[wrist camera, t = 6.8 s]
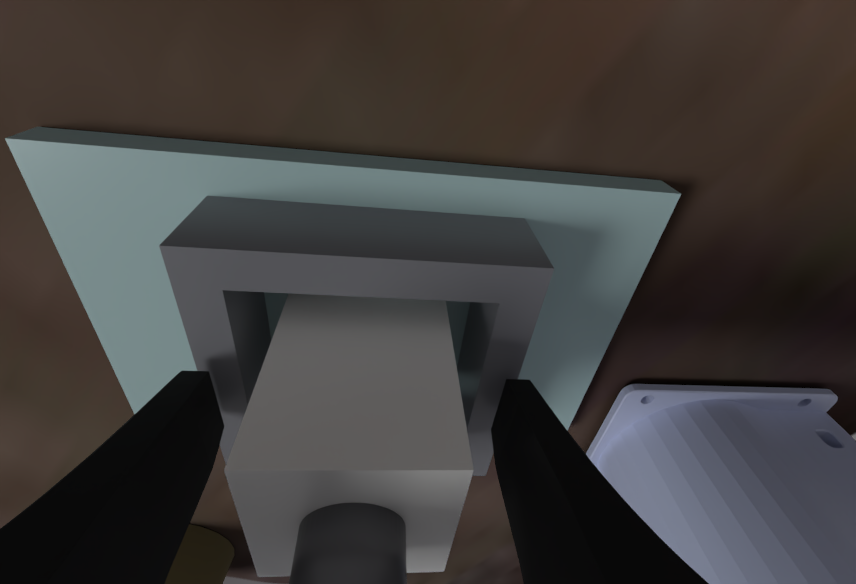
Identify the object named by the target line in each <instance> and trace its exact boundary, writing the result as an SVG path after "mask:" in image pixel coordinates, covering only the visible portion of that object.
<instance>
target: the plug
mask: <svg viewBox="0 0 856 584" xmlns="http://www.w3.org/2000/svg"><path fill="white" fill-rule="evenodd" d="M473 471H474V469H473V463H472V457H471V451H470V445H469V439H468V433H467V427H466V421H465V415H464V409H463V403H462V397H461V391H460V384H459V378H458V372H457V366H456V360H455V354H454V348H453V342H452V336H451V330H450V324H449V318H448V312H447V306H446V301H438V300H417V299H396V298H375V297H354V296H333V295H311V294H290V293H289V294H288V296H287V299H286V302H285V305H284V307H283V310H282V313H281V316H280V318H279V321H278V324H277V327H276V329H275V332H274V335H273V338H272V340H271V343H270V346H269V349H268V351H267V354H266V357H265V360H264V362H263V365H262V368H261V371H260V373H259V376H258V379H257V382H256V384H255V387H254V390H253V392H252V395H251V398H250V401H249V403H248V406H247V409H246V412H245V414H244V417H243V420H242V423H241V425H240V428H239V431H238V434H237V436H236V439H235V442H234V445H233V447H232V450H231V453H230V456H229V458H228V461H227V464H226V467H225V469H224V472H225V475H226V478H227V481H228V484H229V488H230V491H231V494H232V497H233V500H234V503H235V506H236V510H237V513H238V516H239V519H240V522H241V525H242V528H243V532H244V535H245V538H246V541H247V544H248V547H249V550H250V553H251V557H252V560H253V563H254V566H255V569H256V572H257V575H258V577H275V576H290V580H289V584H407V573H414V572H444V570H445V566H446V563H447V559H448V556H449V553H450V549H451V546H452V542H453V539H454V536H455V532H456V529H457V525H458V522H459V519H460V515H461V512H462V508H463V505H464V502H465V498H466V495H467V491H468V488H469V485H470V481H471V478H472V474H473Z"/></svg>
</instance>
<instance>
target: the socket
mask: <svg viewBox="0 0 856 584" xmlns="http://www.w3.org/2000/svg"><path fill="white" fill-rule="evenodd" d="M5 139H6V141H7V144H8V146H9V148H10V150H11V152H12V154H13V156H14V158H15V161H16V163H17V165H18V167H19V169H20V171H21V173H22V175H23V178H24V180H25V182H26V184H27V186H28V188H29V190H30V193H31V195H32V197H33V199H34V201H35V203H36V205H37V207H38V210H39V212H40V214H41V216H42V218H43V220H44V222H45V224H46V227H47V229H48V231H49V233H50V235H51V237H52V239H53V241H54V244H55V246H56V248H57V250H58V252H59V254H60V256H61V259H62V261H63V263H64V265H65V267H66V269H67V271H68V273H69V276H70V278H71V280H72V282H73V284H74V286H75V288H76V290H77V293H78V295H79V297H80V299H81V301H82V303H83V305H84V308H85V310H86V312H87V314H88V316H89V318H90V320H91V322H92V325H93V327H94V329H95V331H96V333H97V335H98V337H99V339H100V342H101V344H102V346H103V348H104V350H105V352H106V354H107V356H108V359H109V361H110V363H111V365H112V367H113V369H114V371H115V374H116V376H117V378H118V380H119V382H120V384H121V386H122V388H123V391H124V393H125V395H126V397H127V399H128V401H129V403H130V405H131V408H132V410H133V412H134V414H136V413H137V412H138V411H139V410H140V409H141V408H142V407H143V406H144V405H145V404H146V403H147V402H148V401H149V400H151V399H152V398H153V397H154V396H155V395H156V394H157V393H158V392H159V391H160V390H161V389H162V388H163V387H164V386H165V385H166V384H167V383H168V382H169V381H171V380H172V379H173V378H174V377H175V376H176V375H177V374H178V373H179V372H181V371H209V373H210V377H211V380H212V384H213V387H214V391H215V394H216V398H217V401H218V405H219V408H220V412H221V416H222V419H223V423H224V430H223V434H222V437H221V441H220V447H221V450H222V453H223V457H224V460H225V463H226V464H227V461H228V458H229V456H230V453H231V450H232V447H233V445H234V442H235V439H236V436H237V434H238V431H239V428H240V425H241V423H242V420H243V417H244V414H245V412H246V409H247V406H248V403H249V401H250V398H251V395H252V392H253V390H254V387H255V384H256V382H257V379H258V376H259V373H260V371H261V368H262V365H263V362H264V360H265V357H266V354H267V351H268V349H269V346H270V343H271V340H272V338H273V335H274V332H275V329H276V327H277V324H278V321H279V318H280V316H281V313H282V310H283V307H284V305H285V302H286V299H287V296H288V294H289V293H290V294H311V295H333V296H354V297H375V298H396V299H417V300H438V301H446V306H447V312H448V318H449V324H450V330H451V336H452V342H453V348H454V354H455V360H456V366H457V372H458V378H459V384H460V391H461V397H462V403H463V409H464V415H465V421H466V427H467V433H468V439H469V445H470V451H471V457H472V463H473V469H474V471H473V474H472V476H486V473H487V470H488V467H489V464H490V461H491V458H492V455H493V452H494V451H493V443H492V435H491V427H492V424H493V421H494V417H495V414H496V411H497V408H498V405H499V401H500V398H501V395H502V392H503V388H504V385H505V382H506V379H525V380H530V381H531V382H532V383H533V384H534V386H535V387H536V389H537V390H538V391H539V393H540V394H541V396H542V397H543V398H544V400H545V401H546V403H547V404H548V405H549V407H550V408H551V409H552V411H553V412H554V414H555V415H556V416H557V418H558V419H559V420H560V422H561V423H562V424H563V426H564V427H565V428H566V430H567V431H568V428H569V426H570V424H571V422H572V420H573V418H574V416H575V414H576V412H577V410H578V408H579V406H580V404H581V401H582V399H583V397H584V395H585V393H586V391H587V389H588V387H589V385H590V383H591V381H592V379H593V376H594V374H595V372H596V370H597V368H598V366H599V364H600V362H601V360H602V358H603V356H604V354H605V352H606V349H607V347H608V345H609V343H610V341H611V339H612V337H613V335H614V333H615V331H616V329H617V327H618V325H619V322H620V320H621V318H622V316H623V314H624V312H625V310H626V308H627V306H628V304H629V302H630V300H631V298H632V295H633V293H634V291H635V289H636V287H637V285H638V283H639V281H640V279H641V277H642V275H643V273H644V270H645V268H646V266H647V264H648V262H649V260H650V258H651V256H652V254H653V252H654V250H655V248H656V246H657V243H658V241H659V239H660V237H661V235H662V233H663V231H664V229H665V227H666V225H667V223H668V221H669V219H670V216H671V214H672V212H673V210H674V208H675V206H676V204H677V202H678V200H679V198H680V196H681V193H679V192H678V191H676V190H675V189H673V188H672V187H670V186H669V185H667V184H666V183H664V182H663V181H662V180H652V179H640V178H629V177H617V176H605V175H594V174H582V173H570V172H559V171H547V170H535V169H524V168H512V167H500V166H489V165H477V164H465V163H454V162H442V161H431V160H419V159H407V158H396V157H384V156H372V155H361V154H349V153H337V152H326V151H314V150H302V149H291V148H279V147H267V146H256V145H244V144H233V143H221V142H209V141H198V140H186V139H174V138H163V137H151V136H139V135H128V134H116V133H104V132H93V131H81V130H69V129H58V128H46V127H35V128H33V129H30V130H27V131H24V132H21V133H19V134H16V135H13V136H10V137H7V138H5Z"/></svg>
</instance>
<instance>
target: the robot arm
mask: <svg viewBox="0 0 856 584" xmlns="http://www.w3.org/2000/svg"><path fill="white" fill-rule="evenodd" d="M837 400H838V397H837V395H836V394H834V393H833V392H832V391H831V390H830V389H819V388H780V387H741V386H702V385H663V384H630V385H628V386H626V387H624V388H623V389H622V390H621V391H620V393H619V395H618V396H617V398H616V400H615V402H614V404H613V405H612V407H611V409H610V411H609V413H608V415H607V416H606V418H605V420H604V422H603V424H602V425H601V427H600V429H599V431H598V433H597V435H596V436H595V438H594V440H593V442H592V444H591V445H590V447H589V449H588V451H587V453H586V454H585V453H584V451H583V450H582V449H581V448H580V446H579V445H578V444H577V443H576V441H575V440H574V439H573V438H572V436H571V435H570V434H569V432H568V431H567V430H566V428H565V427H564V426H563V424H562V423H561V422H560V420H559V419H558V418H557V416H556V415H555V414H554V412H553V411H552V409H551V408H550V407H549V405H548V404H547V403H546V401H545V400H544V398H543V397H542V396H541V394H540V393H539V391H538V390H537V389H536V387H535V386H534V384H533V383H532V382H531V381H530V380H525V379H506V382H505V385H504V388H503V392H502V395H501V398H500V401H499V405H498V408H497V411H496V414H495V417H494V421H493V424H492V427H491V435H492V443H493V451H494V458H495V465H496V470H497V475H498V479H499V483H500V487H501V491H502V495H503V499H504V503H505V507H506V511H507V515H508V519H509V523H510V527H511V531H512V535H513V539H514V542H515V546H516V550H517V554H518V558H519V563H520V567H521V572H522V576H523V581H524V584H856V441H855V440H854V439H853V438H852V437H851V436H850V435H849V434H848V433H847V432H846V431H845V430H844V429H843V428H842V427H841V426H840V425H839V424H838V423H837V422H836V421H835V420H833V419H832V418H831V417H830V416H829V415H828V414H827V413H826V412H827V411H828V410H829V409H830V408H831V407H832V406H833V405H834V404H835V403H836V402H837ZM223 430H224V423H223V419H222V416H221V412H220V408H219V405H218V401H217V398H216V394H215V391H214V387H213V384H212V380H211V377H210V373H209V371H181V372H179V373H178V374H177V375H176V376H175V377H174V378H173V379H172V380H171V381H169V382H168V383H167V384H166V385H165V386H164V387H163V388H162V389H161V390H160V391H159V392H158V393H157V394H156V395H155V396H154V397H153V398H152V399H151V400H149V401H148V402H147V403H146V404H145V405H144V406H143V407H142V408H141V409H140V410H139V411H138V412H137V413H136V414H135V415H134V416H132V417H131V418H130V419H129V420H128V421H127V422H126V423H125V424H124V425H123V426H122V427H121V428H119V429H118V430H117V431H116V432H115V433H114V434H113V435H112V436H111V437H110V438H108V439H107V440H106V441H105V442H104V443H103V444H102V445H101V446H100V447H99V448H97V449H96V450H95V451H94V452H93V453H92V454H91V455H90V456H88V457H87V458H86V459H85V460H84V461H83V462H82V463H80V464H79V465H78V466H77V467H76V468H74V469H73V470H72V471H71V472H70V473H69V474H67V475H66V476H65V477H64V478H63V479H61V480H60V481H59V482H58V483H57V484H56V485H54V486H53V487H52V488H51V489H50V490H48V491H47V492H46V493H45V494H44V495H42V496H41V497H40V498H39V499H38V500H36V501H35V502H34V503H33V504H31V505H30V506H29V507H28V508H26V509H25V510H24V511H23V512H21V513H20V514H19V515H17V516H16V517H15V518H14V519H12V520H11V521H10V522H9V523H7V524H6V525H5V526H3V527H2V528H1V529H0V584H165V581H166V579H167V576H168V573H169V571H170V568H171V566H172V564H173V561H174V559H175V556H176V554H177V552H178V549H179V547H180V545H181V542H182V540H183V538H184V535H185V533H186V530H187V528H188V526H189V523H190V521H191V519H192V516H193V514H194V512H195V509H196V507H197V505H198V502H199V500H200V497H201V495H202V493H203V490H204V488H205V485H206V483H207V481H208V478H209V476H210V473H211V471H212V468H213V465H214V462H215V458H216V455H217V452H218V448H219V444H220V441H221V437H222V434H223Z"/></svg>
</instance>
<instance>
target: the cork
mask: <svg viewBox="0 0 856 584" xmlns="http://www.w3.org/2000/svg"><path fill="white" fill-rule="evenodd" d="M233 557H234V547H233V546H232V544H231V543H230V542H229V540H227V539H226V538H224V537H223V536H221V535H220V534H218V533H217V532H214V531H211V530H209V529H206V528H203V527H200V526H195V525H190V524H189V526H188V528H187V530H186V533H185V535H184V538H183V540H182V542H181V545H180V547H179V549H178V552H177V554H176V556H175V559H174V561H173V564H172V566H171V568H170V571H169V573H168V576H167V579H166V581H165V584H223V581H224V579H225V577H226V574H227V572H228V569H229V567H230V565H231V562H232V560H233Z"/></svg>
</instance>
